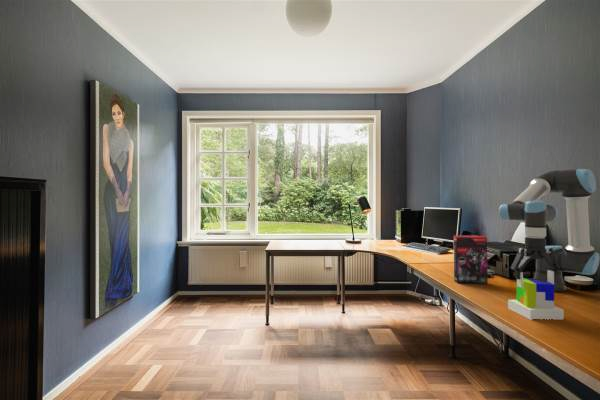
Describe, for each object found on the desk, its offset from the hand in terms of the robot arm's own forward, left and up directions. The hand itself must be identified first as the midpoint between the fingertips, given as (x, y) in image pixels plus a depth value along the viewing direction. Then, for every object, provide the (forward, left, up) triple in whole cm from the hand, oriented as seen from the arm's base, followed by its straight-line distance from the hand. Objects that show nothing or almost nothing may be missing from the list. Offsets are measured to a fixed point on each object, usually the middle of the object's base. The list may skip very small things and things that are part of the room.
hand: (535, 286), depth 146 cm
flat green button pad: (-18, -75, -12) cm, 78 cm away
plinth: (0, 0, -12) cm, 12 cm away
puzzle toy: (0, 0, -8) cm, 8 cm away
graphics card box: (-1, -53, -12) cm, 54 cm away
